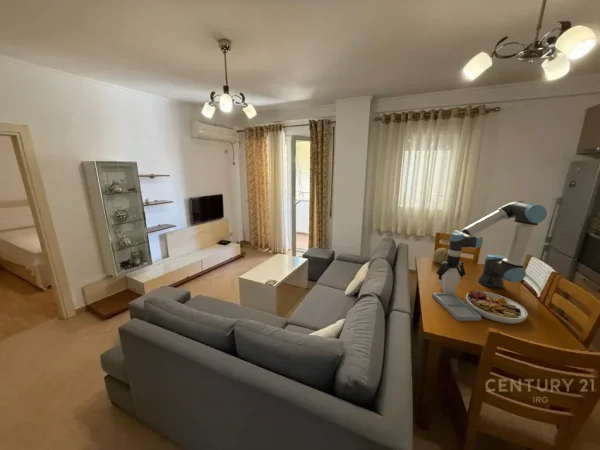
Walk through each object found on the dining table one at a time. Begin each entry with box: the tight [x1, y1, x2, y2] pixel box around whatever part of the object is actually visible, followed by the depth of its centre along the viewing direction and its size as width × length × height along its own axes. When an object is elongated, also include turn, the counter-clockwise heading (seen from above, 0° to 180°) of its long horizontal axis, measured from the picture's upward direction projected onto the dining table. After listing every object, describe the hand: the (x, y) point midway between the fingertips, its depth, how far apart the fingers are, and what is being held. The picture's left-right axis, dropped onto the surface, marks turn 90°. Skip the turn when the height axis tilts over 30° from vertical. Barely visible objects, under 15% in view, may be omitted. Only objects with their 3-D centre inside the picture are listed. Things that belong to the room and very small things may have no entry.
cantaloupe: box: [433, 247, 449, 264], centre depth 221 cm, size 15×15×15 cm
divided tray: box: [431, 292, 483, 322], centre depth 154 cm, size 14×27×3 cm, turn 1°
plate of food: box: [465, 290, 528, 325], centre depth 150 cm, size 30×30×8 cm
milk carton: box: [440, 268, 459, 295], centre depth 171 cm, size 7×7×19 cm
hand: (449, 283), depth 172 cm, fingers open, 12 cm apart
